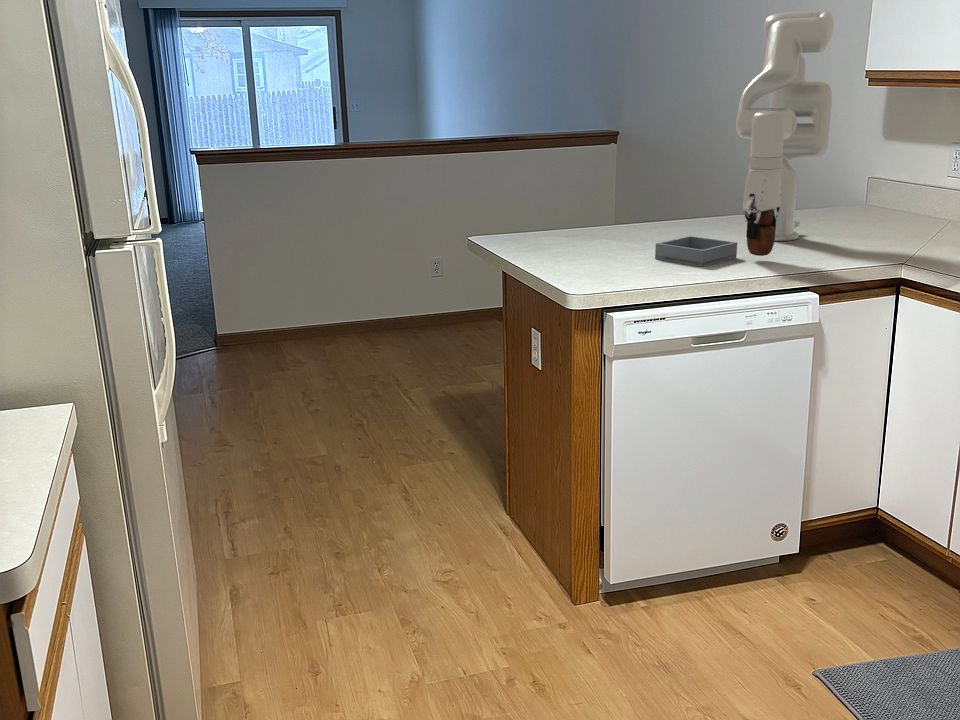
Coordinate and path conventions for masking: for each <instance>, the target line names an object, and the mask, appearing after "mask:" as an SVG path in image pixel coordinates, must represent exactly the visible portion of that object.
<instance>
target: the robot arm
mask: <svg viewBox="0 0 960 720" xmlns="http://www.w3.org/2000/svg"><path fill="white" fill-rule="evenodd" d="M763 24H764V25H763V33H764V39H765V40H764V41H765V43H766V48H765V54H764V60H763V65H762V66H763V67H762V72H760V73H759V74H758V75H757V76H756V77H755V78H753V79H752V80H751V81H750V82H749V83H748V84H747V86H746V87H745V89H744V90H743V91H742V94H741V95H740V99H739V103H738V109H737V114H736V115H737V116H736V120H735V121H736V122H735V129H736V133H737V135H738V137H740V138H741V139H745V140H750V153H749V169H748V172H747V175H746V179H745V185H744V194H743V200H742V201H743V203H742V213H743V214H744V218H745V219H746V220H745V222H746V239H747V238H749V239H755V240H757V239H759V229H760V223H758V221H759V218H760V215H761V212H764V211H768V210H771V212H772V214H773V219H772V222H771V224H769V225H771V226H773V227H774V229H775V241H774V242H780V241H781V242H782V241H783V242H784V241H787V242H788V241H793V240H797V239H799V237H800V236H799V235H800V234H799V232H796V231H795V228H799V227H800V226H801V222H800V220H795V215H796V201H797V200H796V199H797V189H798V176H799V175H798V173H797V170H796V168H795V167H794V166H793V164H792V163H791V161H790V160H792V159H793V160H795V159H798V160H799V159H803V160H805V159H807V160H812V159H813V160H816V159H820V158H821V159H822V158H823V157H824V156H825V155H826V153H827V150H828V145H829V138H830V125H831V116H832V115H831V114H832V101H833V96H832V95H833V94H832V93H833V92H832V89H831V86H830V84H828V83H827V82H825V81H819V80H818V81H816V80H813V81H805V75H806V66H807V65H806V61H805V58H804V57H803V55H802V54H807V53H809V54H810V53H811V54H813V53H822V52H824V51H825V50H826V49H827V47H828V45H829V42H830V41H831V39H832V36H833V32H834V18H833V16H832V14H831V12H829V11H827V10H812V11H787V12H786V11H785V12H777V13H774V14H770V15H769V16H768V17H766V19H765V21H764V23H763ZM768 94H770V95H769V96H770V97H769V98H770V99H769V107H752V106H753V104H754V103H756V101H757V100H759V99H760V98H763V97H764V96H767V95H768ZM804 118H805V119H806V118H807V119H811V121H812V122H798V119H804ZM755 208H756V210H755ZM753 213H756V216H754V215H753Z"/></svg>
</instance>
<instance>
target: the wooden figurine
mask: <svg viewBox="0 0 960 720" xmlns="http://www.w3.org/2000/svg"><path fill="white" fill-rule="evenodd" d="M754 210H756V208H755V209H754ZM753 215H754V216H756V213H753ZM772 219H773V214H772V212H771V210H768V211H764V212H761V215H760V218H759V221H758V223H760V229H759V239H757V240H755V239H749V238H747V237H746V245H747V249H748V252H749V254H751V255H753V256H756V257H757V256H760V257H761V256H762V257H763V256H768V255H769V254H771V252H772V251H773V248H774V245H775V242H776V241H775V229H774V227H773V226H771V225H769V224H771V222H772Z"/></svg>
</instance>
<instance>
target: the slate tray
mask: <svg viewBox="0 0 960 720" xmlns="http://www.w3.org/2000/svg"><path fill="white" fill-rule="evenodd" d="M654 249H655V252H654V253H655V254H654V255H655V256H654V259H655V260H660V261H665V260H666V261H667V262H671V261H672V262H673V263H677V262H678V263H677V264H683V263H684V265H689V264H691V266H695V265H697V266H696V267H701V266H703V267H707V266H710V264H711V265H714V264H713V263H715V264H718V263H717V262H719V263H722V262H721V261H723V262H726V260H727V261H730V260H733V259H737V254H738V253H737V252H738V242H735V241H729V240H723V239H715V238H709V237H700V236H693V235H687V236H683V237H680V238H674V239H671V240H666V241H662V242H661V241H660V242H656V243H655V248H654ZM666 261H665V262H666ZM706 265H707V266H706Z"/></svg>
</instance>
